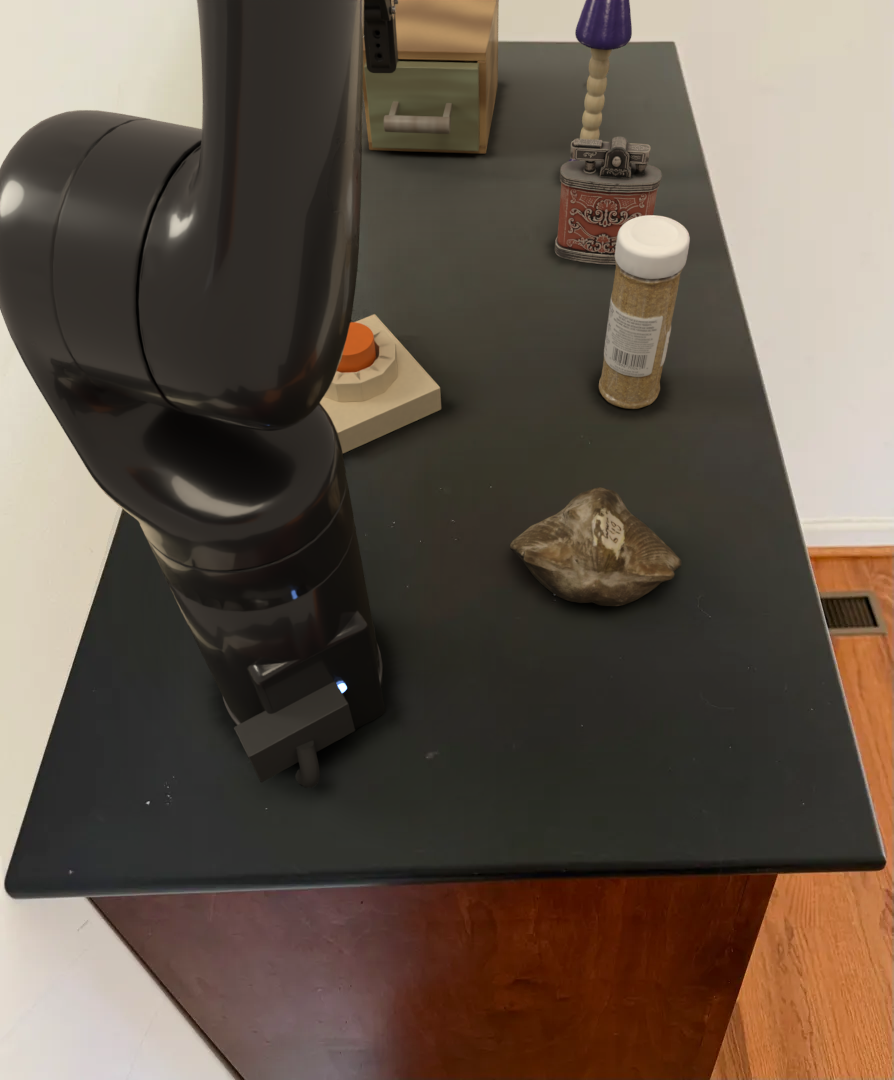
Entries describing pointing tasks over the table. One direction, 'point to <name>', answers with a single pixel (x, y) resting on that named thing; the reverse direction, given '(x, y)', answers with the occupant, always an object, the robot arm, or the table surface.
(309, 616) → the robot arm
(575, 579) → the fossilized seashell
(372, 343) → the button
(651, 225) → the spice jar
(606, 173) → the lighter
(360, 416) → the button block
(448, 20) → the cabinet
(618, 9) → the toy lamp
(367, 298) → the table surface
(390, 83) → the drawer
